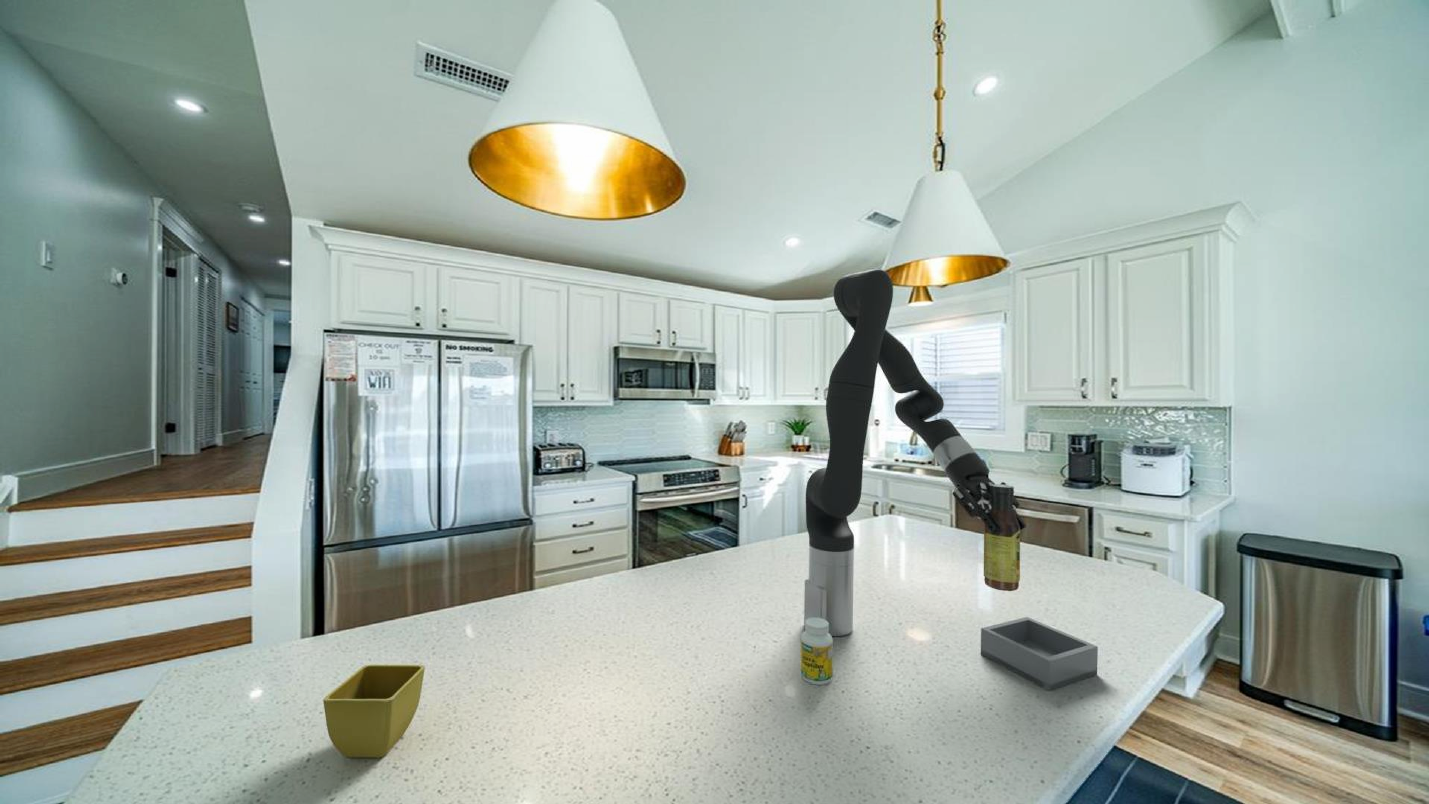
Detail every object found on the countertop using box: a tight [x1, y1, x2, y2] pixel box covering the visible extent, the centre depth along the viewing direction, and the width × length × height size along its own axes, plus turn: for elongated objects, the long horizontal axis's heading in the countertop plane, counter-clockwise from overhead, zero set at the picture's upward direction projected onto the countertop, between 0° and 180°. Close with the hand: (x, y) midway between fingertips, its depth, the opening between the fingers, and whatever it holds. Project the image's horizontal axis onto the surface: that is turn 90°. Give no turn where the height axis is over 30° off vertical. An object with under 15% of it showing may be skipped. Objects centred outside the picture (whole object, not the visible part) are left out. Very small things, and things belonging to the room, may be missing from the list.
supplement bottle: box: [800, 618, 834, 686], centre depth 88 cm, size 5×5×10 cm
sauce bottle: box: [983, 483, 1021, 592], centre depth 100 cm, size 6×6×20 cm
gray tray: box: [980, 616, 1099, 692], centre depth 93 cm, size 13×13×5 cm
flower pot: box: [322, 664, 426, 758], centre depth 70 cm, size 9×9×9 cm
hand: (1010, 531), depth 99 cm, fingers closed on sauce bottle, 6 cm apart
